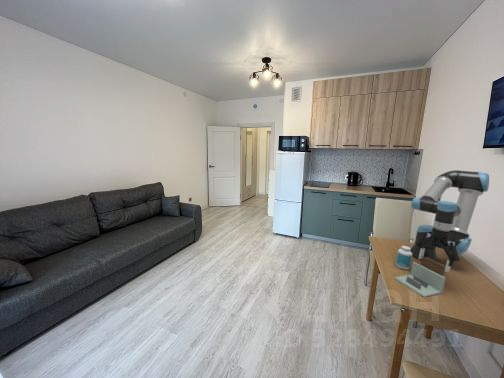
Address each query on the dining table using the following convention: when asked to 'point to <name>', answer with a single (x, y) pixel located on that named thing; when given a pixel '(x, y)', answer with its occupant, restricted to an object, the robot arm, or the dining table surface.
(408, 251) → the pill bottle
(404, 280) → the pale green l-shaped piece
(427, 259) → the door panel
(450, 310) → the dining table surface
